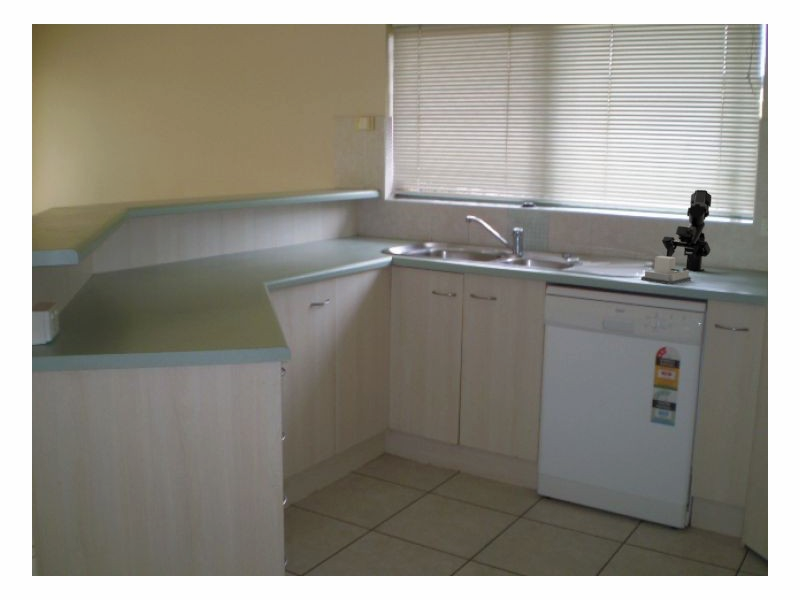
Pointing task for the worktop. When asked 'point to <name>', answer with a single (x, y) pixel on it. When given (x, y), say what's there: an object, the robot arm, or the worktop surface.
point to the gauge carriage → (665, 264)
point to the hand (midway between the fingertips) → (677, 261)
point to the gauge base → (667, 277)
